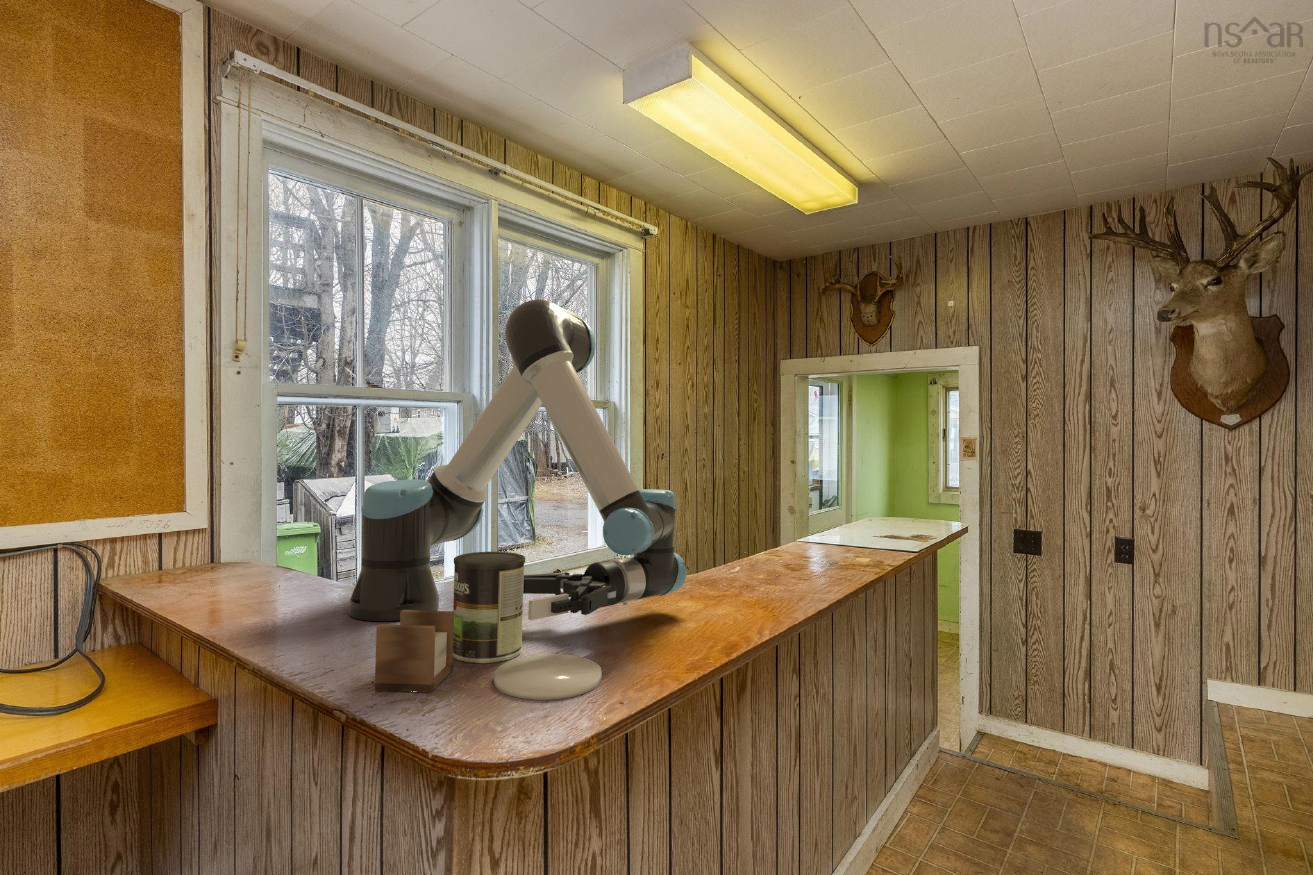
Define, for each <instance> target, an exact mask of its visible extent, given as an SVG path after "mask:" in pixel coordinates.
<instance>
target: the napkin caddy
mask: <svg viewBox="0 0 1313 875" xmlns="http://www.w3.org/2000/svg"><path fill="white" fill-rule="evenodd" d="M375 629H376V634H375V639H376V640H375V672H374V673H375V674H374V675H375V676H374V678H375V679H374V691H375V692H390V693H391V692H394V693H395V692H396V693H405V692H404V691H412V692H411V693H414V692H413V691H417V692H416V693H418V692H431V693H432V692H433V691H435V689H436V688H437V687H438V686H439V685H440V684H441V683H442V682H443V681H444V680H445V679H446V678H447V677H448V676H449V675H450V674H451V672H453V670H454V668H453V666H454V665H453V664H454V657H453V638H454V611H452V610H449V611H448V610H437V611H424V610H402V611H401V612H400V620H399V624H389V623H387V624H386V623H385V624H384V623H380V624H378V625H377V626H376V628H375ZM448 674H449V675H448ZM446 676H447V677H446ZM444 678H445V679H444ZM443 679H444V680H443ZM441 681H442V682H441ZM439 683H440V684H439ZM436 686H437V687H436ZM434 688H435V689H434ZM402 691H403V692H402Z"/></svg>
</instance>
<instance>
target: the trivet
mask: <svg viewBox="0 0 1313 875" xmlns="http://www.w3.org/2000/svg"><path fill="white" fill-rule="evenodd" d="M602 672H603V671H602V667H601V666H600V664H598V663H597V662H595V660H594V661H593V660H591V659H590V658H586V657H582V656H579V655H578V656H577V655H573V654H562V653H561V654H560V653H545V654H536V655H535V654H533V655H528V656H523V657H519V658H515V659H514V658H513V659H510V660H508V661H506V662H505V663H503V664H501V665H500V666H498V667H497V668H496V670H495V671H494V674H493V683H494V686H495V688H496V689H497V690H498V691H499V692H501V693H503V694H506V695H508V696H510V697H514V698H518V699H524V700H534V701H537V700H538V701H540V700H541V701H543V700H544V701H547V700H548V701H549V700H550V701H551V700H560V699H568V698H573V697H577V696H579V695H584V694H586V693H588V692H590V691H591V692H592V691H593V690H594V689H595V688H597V687H598V686H599V685H600V684H601V682H602Z"/></svg>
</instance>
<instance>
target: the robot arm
mask: <svg viewBox="0 0 1313 875" xmlns="http://www.w3.org/2000/svg"><path fill="white" fill-rule="evenodd" d="M504 332H505V334H504V336H505V342H506V346H507V349H508V352H509V354H510V359H511V362H512V368H511V370H510V371H509V373H508V374H507V376H506V377H505V379H504V381H503V382H502V384H501V385H500V386H499V388H498V390H497V391H496V393H495V394H494V396H493V397H492V398H491V400H490V401H489V403H488V404H487V406H486V407H485V409H484V410H483V411H482V414H480V416H479V418H477V421H476V422H475V424H474V425H473V427H472V428H471V430H469V433H468V434H467V436H466V437H465V438H464V440H463V441H462V443H461V445H460V446H459V447H458V449H457V450H456V452H455V453H454V455H453V457H452V458H451V460H450V461H449V462H448V463H447V464H442V465H438V466H437V467H435V469H434V471H433V472H432V473H431V475H430V476H429V478H428V480H424V479H415V478H414V479H413V478H412V479H410V478H409V479H408V478H407V479H398V480H388V481H381V482H378V483H377V482H376V483H374V484H371V485H370V486H368V487H367V488H366V489H365V491H364V492H363V500H362V506H361V514H362V515H361V518H362V519H361V563H360V572H359V574H358V577H357V580H356V583H355V585H354V588H353V590H352V593H351V597H350V599H349V603H348V608H349V609H348V615H349V616H350V617H352V618H354V619H357V620H362V621H371V622H391V621H392V622H394V621H400V612H401V611H402V610H424V611H439V608H440V594H439V591H438V588H437V584H436V583H435V579H434V575H433V572H432V569H431V546H433V545H438V544H443V543H448V542H453V541H457V540H459V539H462V538H464V537H465V536H468V535H469V534H471V533H472V532H473V531H475V529H476V528H477V527H478V526H479V524H480V522H481V520H482V517H483V516H484V515H483V514H484V508H483V505H484V503H485V502H486V500H487V498H488V494H487V490H486V489H487V488H486V487H487V485H488V484H489V483H490V481H491V480H492V479H493V476H494V475H495V474H496V472H497V471H498V469H499V468H500V467H501V465H502V463H503V462H504V461H505V459H506V458H507V456H508V455H509V454H510V452H511V451H512V450H513V447H514V446H515V445H516V443H517V442H518V440H519V439H520V437H521V436H522V434H523V433H524V431H525V430H526V429H527V427H528V425H529V424H530V422H532V419H533V418H534V417H535V415H536V414H537V412H538V411H539V410H540V408H541V407H542V405H543V407H544V409H545V411H546V412H547V415H548V416H549V419H550V421H551V422H552V425H553V427H554V428H555V430H556V432H557V434H558V436H559V438H560V440H561V442H562V443H563V445H564V447H565V449H566V451H567V453H568V454H569V457H570V459H571V461H572V463H573V465H574V466H575V468H576V470H577V472H578V474H579V476H580V478H581V480H582V482H583V484H584V485H585V488H586V489H587V491H588V494H589V495H590V498H591V499H592V501H593V503H594V504H595V506H596V508H597V510H598V512H599V514H600V516H601V519H602V520H603V526H602V537H603V541H604V543H605V545H606V546H607V547H608V548H609V549H610V551H612V552H613V553H616V554H617V555H621V556H631V555H633V556H632V557H625V558H624V557H623V558H615V559H610V560H604V561H597V562H593V563H591V564H589V565H588V566H587V567H586V569H585V570H584V573H583V574H582V573H573V574H570V572H568V571H565V572H560V573H544V574H543V573H539V574H538V573H537V574H524V585H523V595H532V594H533V595H536V594H539V595H541V594H542V595H551V596H545V597H539V598H534V599H529V600H528V609H527V610H528V613H527V616H528V617H527V619H528V620H530V621H534V620H539V619H544V618H550V617H553V616H560V615H564V614H568V613H569V612H570V613H572V614H577V613H579V612H580V614H581V615H583V616H588V615H590V614H592V613H593V612H596V611H597V610H598V609H600V608H606V607H610V606H615V605H617V604H622V605H623V606H625V605H626V606H627V605H628V602H633V601H638V600H644V599H649V598H654V597H663V596H666V595H669V594H672V593H674V592H676V591H679V590H680V589H681V588H682V587H683V586H684V585H685V582H686V579H687V573H688V571H687V567H686V566H685V561H684V559H683V557H682V556H680V554H678V553H676V551H675V536H676V534H675V533H676V532H675V531H676V529H675V528H676V512H677V508H676V496H675V493H674V491H672V490H668V489H656V488H655V489H654V488H653V489H650V488H649V489H648V488H647V489H639V487H638V486H637V483H636V482H635V480H634V479H633V476H632V475H631V473H630V471H629V469H628V467H627V464H626V463H625V461H624V460H623V457H622V455H621V453H620V452H619V450H618V448H617V446H616V444H615V443H614V441H613V438H612V437H611V435H610V434H609V431H608V428H606V425H605V423H604V422H603V419H602V418H601V417H600V414H599V413H598V410H597V409H596V406H595V405H594V403H593V401H592V399H591V397H590V395H589V393H588V392H587V390H586V388H585V386H584V383H583V382H582V380H581V378H580V377H579V375H578V373H580V372H582V371H584V370H585V369H586V368H587V367H589V365H590V364H591V362H592V361H593V359H594V357H595V353H596V346H597V345H596V338H595V334H594V331H593V329H592V328H591V326H590V325H589V324H588V323H587V322H586V321H585V320H584V319H583V318H582V317H580V315H578V314H576V313H574V312H573V311H570V310H568V309H565V308H563V307H561V306H560V305H557V304H556V303H554V302H552V301H549V300H547V299H530V300H528V301H523V302H522V303H521V304H519V305H518V306H517V307H515V309H513V311H512V312H511V313H510V314H509V317H508V319H507V321H506V325H505V331H504Z"/></svg>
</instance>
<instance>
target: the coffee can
mask: <svg viewBox="0 0 1313 875" xmlns="http://www.w3.org/2000/svg"><path fill="white" fill-rule="evenodd" d="M525 563H526V556H524V555H523V554H519V553H517V552H516V553H515V552H509V551H475V552H468V553H462V554H459V555H457V556H455V557H453V564H454V572H453V573H454V574H453V601H452V602H453V605H452V606H453V607H452V608H453V609H452V610H453V611H454V638H453V659H455V660H456V661H460V662H463V661H464V662H463V663H469V664H494V662H495V663H501V662H505V660H506V661H510V660H513V659H514V658H516V657H518V656H520V654H522V652H523V646H522V645H523V641H522V640H523V616H524V615H523V613H524V611H523V610H524V609H523V608H524V594H523V585H524V575H525ZM500 661H501V662H500Z"/></svg>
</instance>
